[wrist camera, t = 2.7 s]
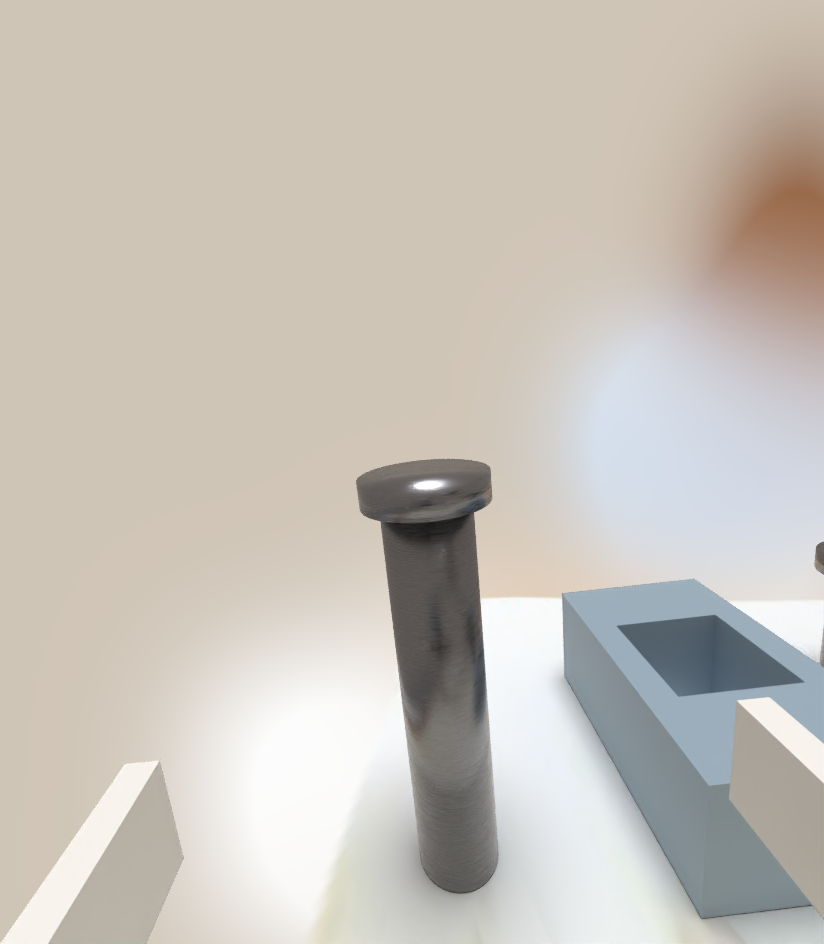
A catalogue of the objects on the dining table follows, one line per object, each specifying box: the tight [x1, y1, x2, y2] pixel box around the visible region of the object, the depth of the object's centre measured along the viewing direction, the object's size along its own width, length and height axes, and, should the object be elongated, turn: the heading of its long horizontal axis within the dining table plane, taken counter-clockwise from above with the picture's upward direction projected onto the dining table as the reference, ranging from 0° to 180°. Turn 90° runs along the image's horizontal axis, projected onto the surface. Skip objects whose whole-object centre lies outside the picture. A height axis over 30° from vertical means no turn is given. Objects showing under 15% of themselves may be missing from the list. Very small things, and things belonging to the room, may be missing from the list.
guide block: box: [562, 579, 824, 918], centre depth 27 cm, size 16×10×7 cm, turn 2°
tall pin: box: [356, 459, 498, 893], centre depth 21 cm, size 6×6×20 cm
